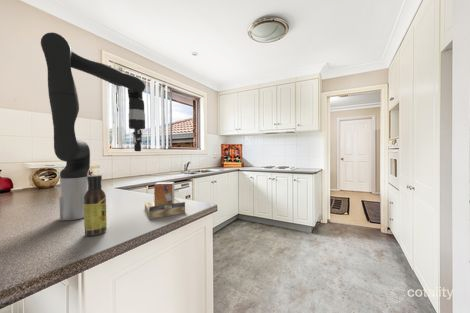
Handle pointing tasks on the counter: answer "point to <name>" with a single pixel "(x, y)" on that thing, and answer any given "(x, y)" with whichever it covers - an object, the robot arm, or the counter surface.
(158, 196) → the small box
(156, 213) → the brown patterned flat box
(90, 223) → the sauce bottle
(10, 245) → the counter surface
